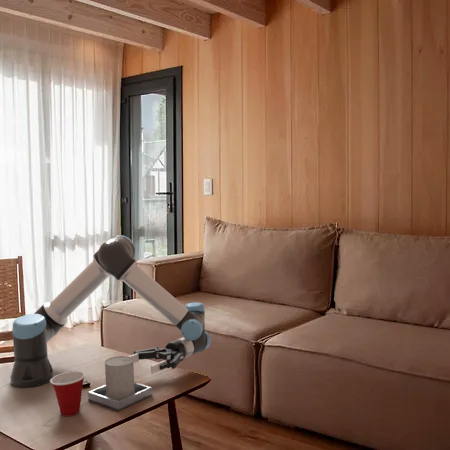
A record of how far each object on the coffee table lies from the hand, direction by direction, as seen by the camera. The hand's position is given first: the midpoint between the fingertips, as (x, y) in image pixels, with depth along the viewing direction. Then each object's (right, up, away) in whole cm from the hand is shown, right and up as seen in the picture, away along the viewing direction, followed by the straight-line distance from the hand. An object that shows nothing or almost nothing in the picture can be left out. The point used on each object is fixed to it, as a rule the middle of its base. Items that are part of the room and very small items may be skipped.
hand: (137, 366), depth 198 cm
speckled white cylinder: (-5, -9, -6) cm, 12 cm away
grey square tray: (-5, -9, -6) cm, 12 cm away
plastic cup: (-19, -11, -16) cm, 27 cm away
